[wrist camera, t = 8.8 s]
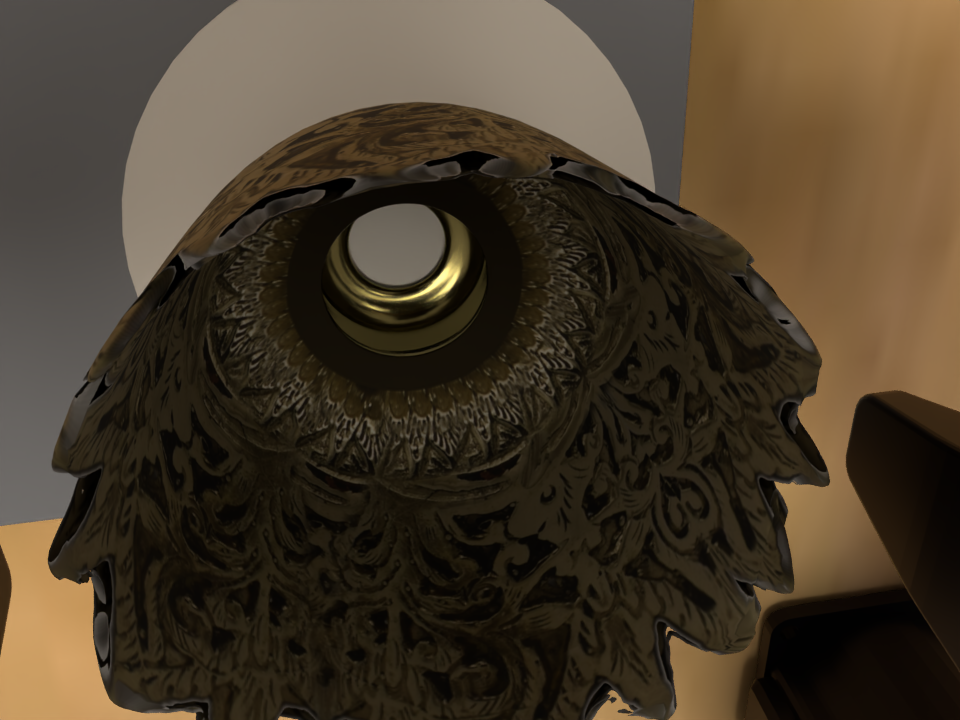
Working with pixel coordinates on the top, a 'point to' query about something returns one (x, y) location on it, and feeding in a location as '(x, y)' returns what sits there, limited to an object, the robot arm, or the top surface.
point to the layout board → (263, 146)
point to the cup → (434, 440)
